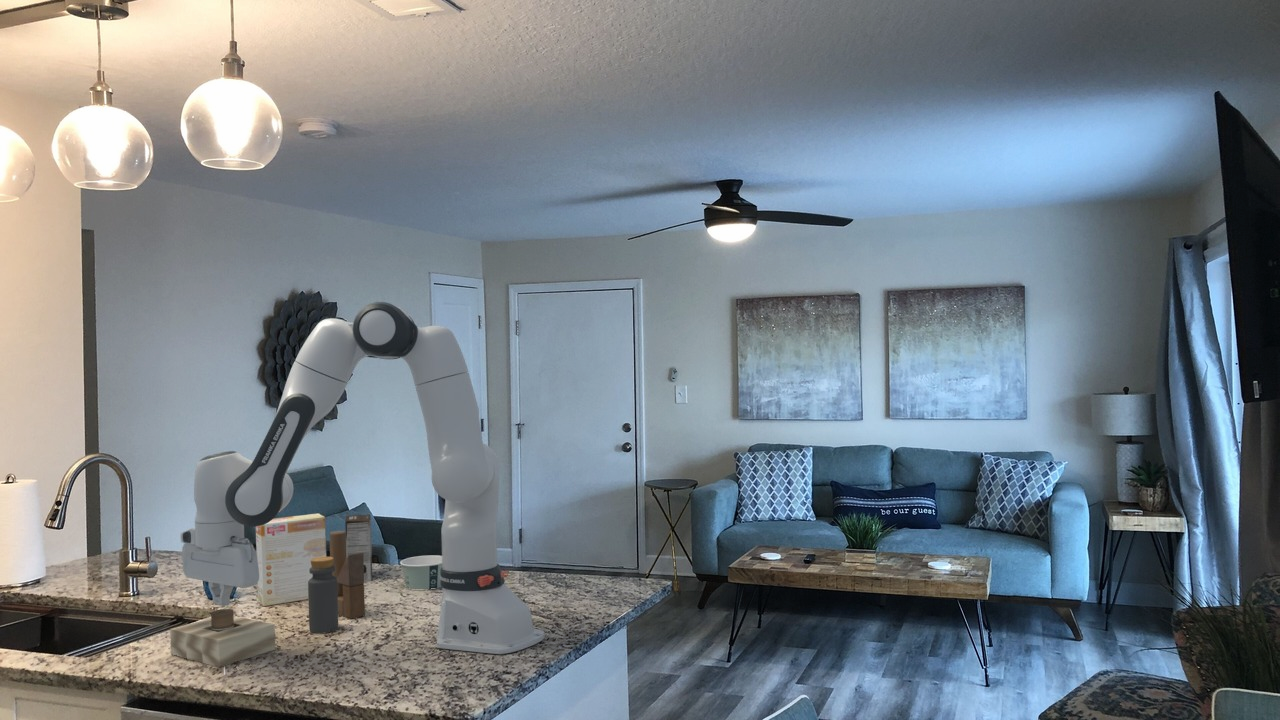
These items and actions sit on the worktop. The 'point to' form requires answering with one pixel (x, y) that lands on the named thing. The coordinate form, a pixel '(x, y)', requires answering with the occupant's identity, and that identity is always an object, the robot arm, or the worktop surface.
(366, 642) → the worktop surface
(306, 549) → the coffeecake box
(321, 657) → the worktop surface
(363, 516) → the coffee box
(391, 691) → the worktop surface
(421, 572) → the food container
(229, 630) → the board
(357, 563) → the wooden block
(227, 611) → the peg
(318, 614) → the bottle
